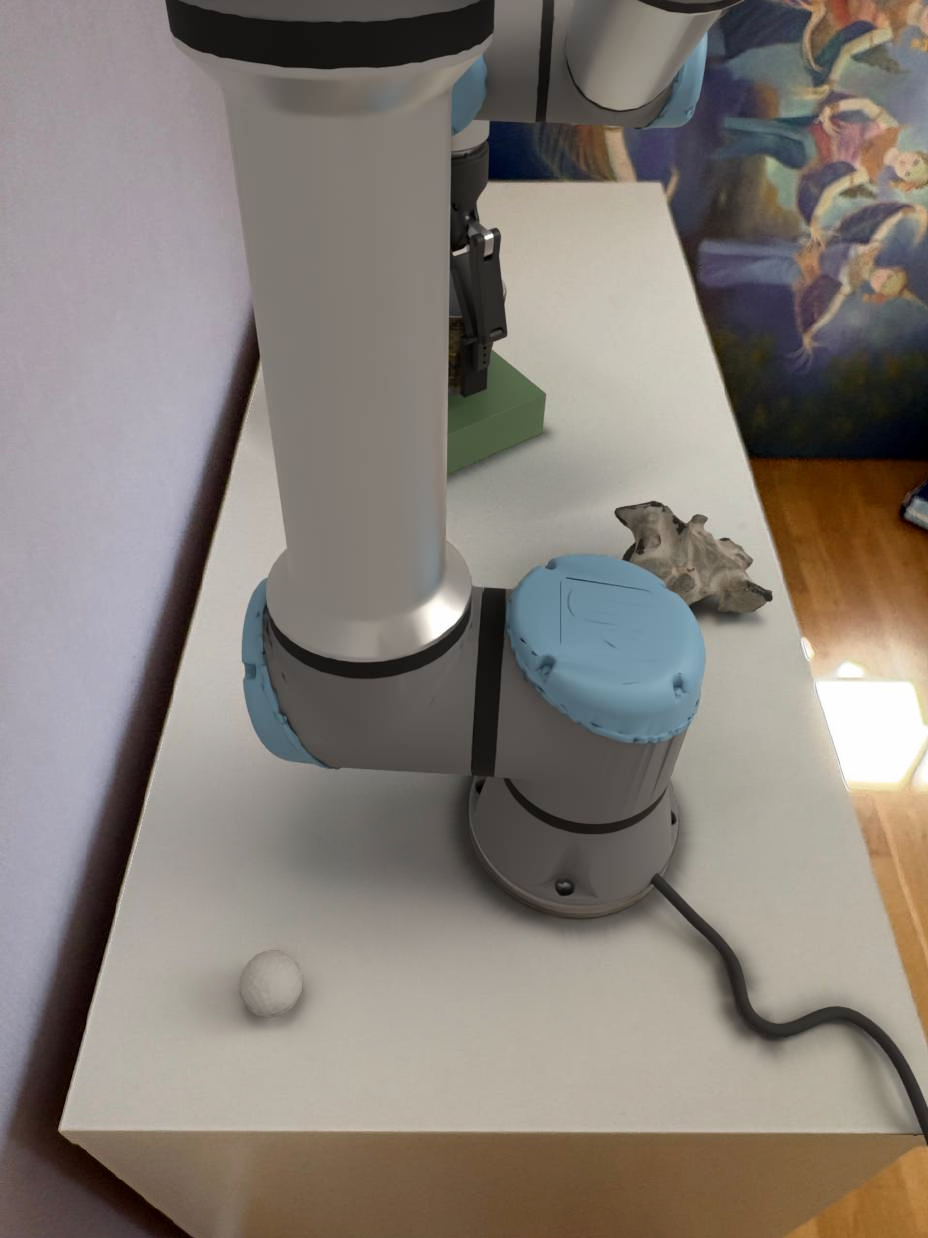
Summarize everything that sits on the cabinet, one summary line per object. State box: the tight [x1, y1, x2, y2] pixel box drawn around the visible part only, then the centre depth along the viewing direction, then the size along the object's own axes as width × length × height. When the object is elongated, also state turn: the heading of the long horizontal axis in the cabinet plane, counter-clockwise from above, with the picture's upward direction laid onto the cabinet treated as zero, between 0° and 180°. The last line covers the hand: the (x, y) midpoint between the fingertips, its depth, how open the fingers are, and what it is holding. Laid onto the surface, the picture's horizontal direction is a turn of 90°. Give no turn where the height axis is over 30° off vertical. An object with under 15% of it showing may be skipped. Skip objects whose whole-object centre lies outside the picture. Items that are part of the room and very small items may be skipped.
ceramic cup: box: [448, 269, 507, 395], centre depth 95 cm, size 13×10×10 cm
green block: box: [447, 349, 547, 475], centre depth 101 cm, size 15×15×5 cm
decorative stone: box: [613, 500, 774, 614], centre depth 84 cm, size 16×9×10 cm
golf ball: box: [238, 949, 304, 1018], centre depth 61 cm, size 4×4×4 cm
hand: (444, 365), depth 97 cm, fingers closed on ceramic cup, 10 cm apart
